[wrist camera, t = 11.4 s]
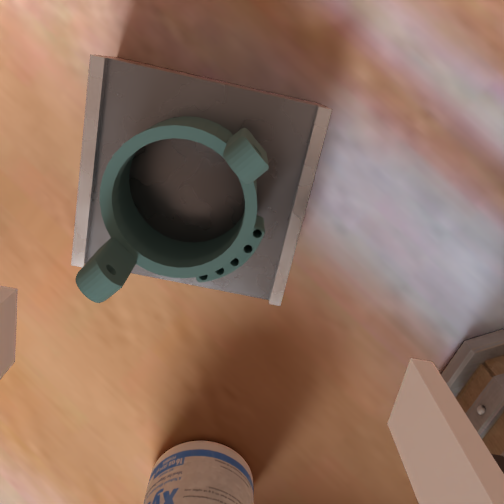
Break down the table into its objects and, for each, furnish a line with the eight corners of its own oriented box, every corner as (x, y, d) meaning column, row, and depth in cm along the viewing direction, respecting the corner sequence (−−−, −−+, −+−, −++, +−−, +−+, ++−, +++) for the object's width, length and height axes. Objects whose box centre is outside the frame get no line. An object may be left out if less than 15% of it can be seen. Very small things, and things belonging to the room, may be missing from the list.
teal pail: (117, 240, 32) (69, 302, 23) (131, 95, 28) (82, 107, 20) (252, 264, 32) (253, 333, 24) (281, 125, 29) (294, 149, 21)
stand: (276, 273, 38) (280, 306, 32) (97, 237, 37) (71, 265, 31) (319, 103, 33) (332, 109, 28) (116, 57, 32) (90, 54, 27)
